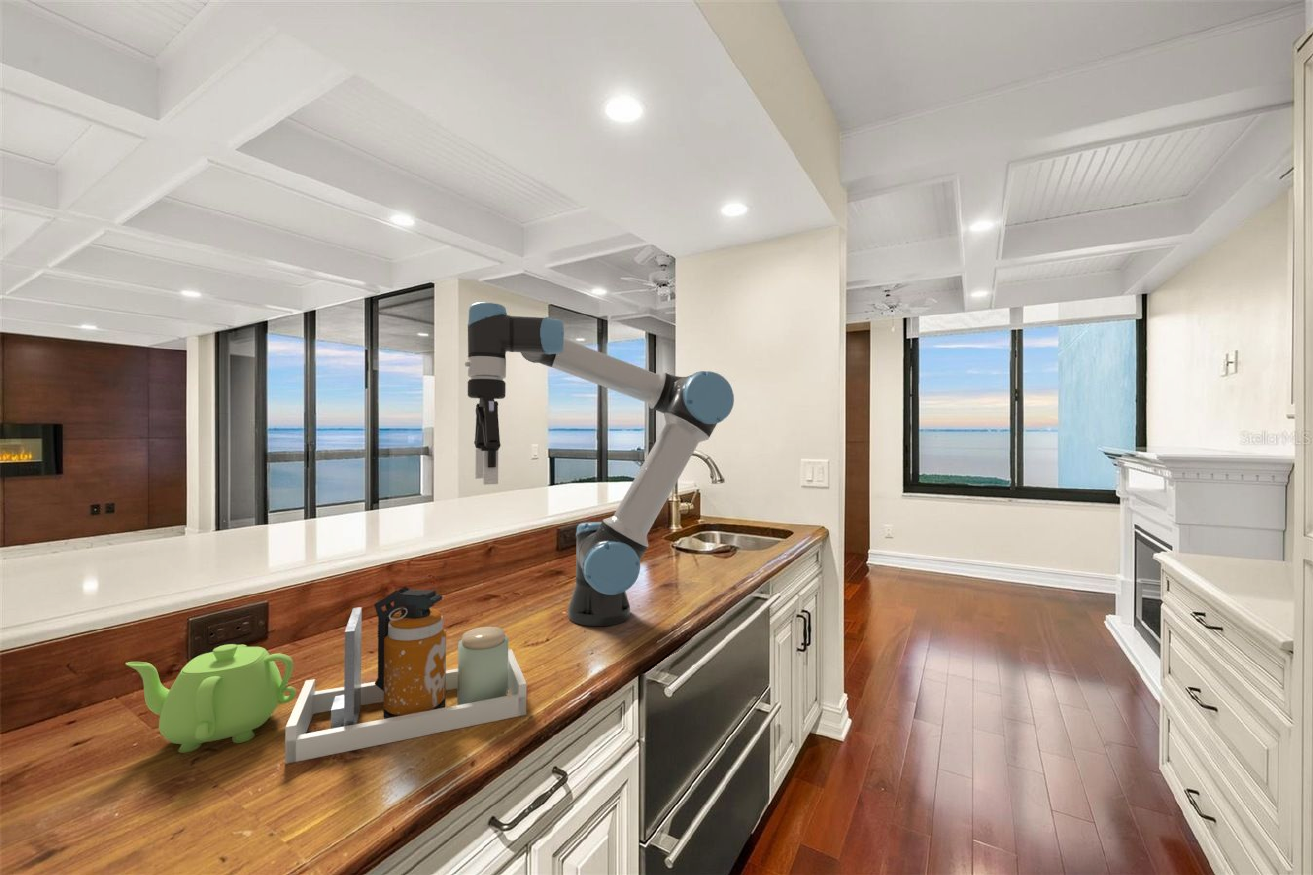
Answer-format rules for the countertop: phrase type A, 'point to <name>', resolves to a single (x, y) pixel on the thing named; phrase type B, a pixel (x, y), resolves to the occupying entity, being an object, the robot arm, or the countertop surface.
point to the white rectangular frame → (396, 727)
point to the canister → (411, 653)
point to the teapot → (218, 695)
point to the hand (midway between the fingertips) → (486, 481)
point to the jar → (482, 665)
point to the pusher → (350, 676)
